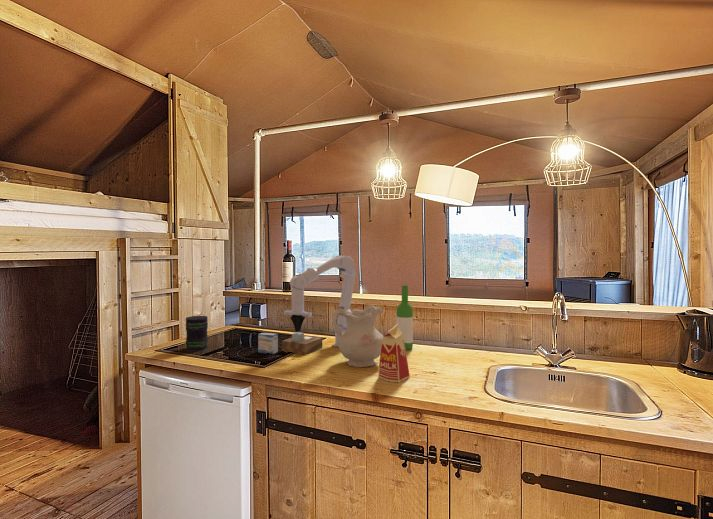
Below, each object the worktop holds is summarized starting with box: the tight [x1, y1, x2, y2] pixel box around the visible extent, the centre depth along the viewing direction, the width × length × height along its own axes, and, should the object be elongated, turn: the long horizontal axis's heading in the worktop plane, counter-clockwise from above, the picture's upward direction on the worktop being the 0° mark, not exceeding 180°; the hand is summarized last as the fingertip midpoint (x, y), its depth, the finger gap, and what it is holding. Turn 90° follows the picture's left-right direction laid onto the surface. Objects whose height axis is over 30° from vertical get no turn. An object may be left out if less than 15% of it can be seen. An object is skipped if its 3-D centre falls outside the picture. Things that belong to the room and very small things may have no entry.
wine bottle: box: [396, 285, 414, 351], centre depth 192 cm, size 8×8×30 cm
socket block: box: [281, 334, 323, 356], centre depth 190 cm, size 13×14×5 cm
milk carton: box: [377, 323, 411, 384], centre depth 150 cm, size 9×9×20 cm
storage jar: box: [185, 315, 209, 352], centre depth 192 cm, size 10×10×15 cm
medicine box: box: [257, 332, 279, 355], centre depth 186 cm, size 8×4×9 cm, turn 73°
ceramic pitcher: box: [332, 304, 384, 369], centre depth 168 cm, size 22×20×25 cm
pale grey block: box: [291, 331, 305, 343], centre depth 187 cm, size 4×4×5 cm
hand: (297, 331), depth 187 cm, fingers closed
